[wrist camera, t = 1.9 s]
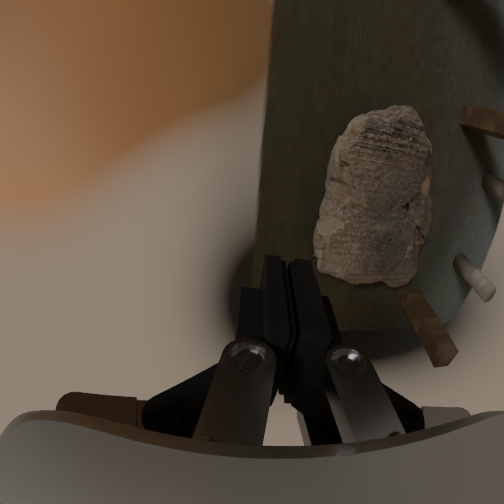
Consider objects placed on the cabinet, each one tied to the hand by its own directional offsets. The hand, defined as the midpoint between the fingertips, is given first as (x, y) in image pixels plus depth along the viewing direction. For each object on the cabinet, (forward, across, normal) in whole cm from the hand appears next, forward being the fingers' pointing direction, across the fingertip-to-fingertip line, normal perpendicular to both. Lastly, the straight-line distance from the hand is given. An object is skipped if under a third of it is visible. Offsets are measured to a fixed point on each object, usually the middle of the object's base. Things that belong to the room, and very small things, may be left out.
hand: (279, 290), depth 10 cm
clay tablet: (+19, -12, 0) cm, 23 cm away
